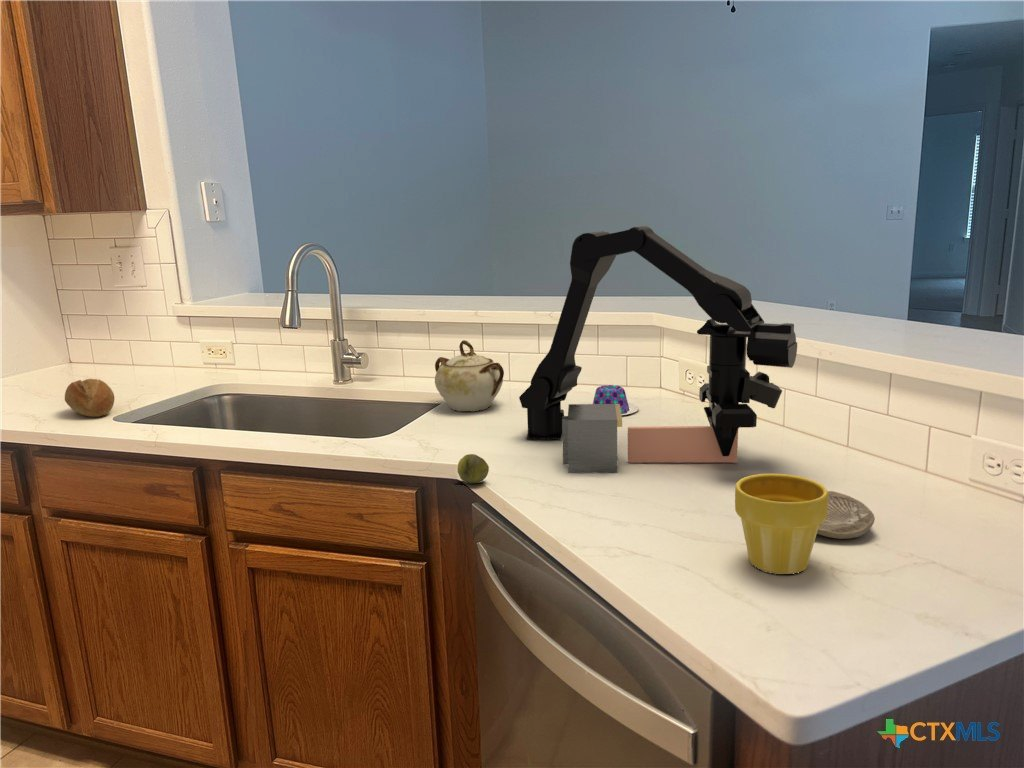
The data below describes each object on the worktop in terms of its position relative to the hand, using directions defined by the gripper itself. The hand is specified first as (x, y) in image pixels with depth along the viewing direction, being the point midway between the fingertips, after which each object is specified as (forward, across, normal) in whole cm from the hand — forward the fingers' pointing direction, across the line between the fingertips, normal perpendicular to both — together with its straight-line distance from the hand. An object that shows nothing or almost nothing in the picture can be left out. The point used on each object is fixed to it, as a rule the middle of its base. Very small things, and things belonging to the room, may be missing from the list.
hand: (724, 453), depth 129 cm
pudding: (+2, +34, +18) cm, 39 cm away
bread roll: (+2, +35, +136) cm, 140 cm away
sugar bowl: (+2, +38, +49) cm, 61 cm away
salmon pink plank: (+1, 0, +7) cm, 7 cm away
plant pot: (+2, -37, 0) cm, 37 cm away
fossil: (+2, -26, -9) cm, 28 cm away
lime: (+2, -10, +41) cm, 42 cm away
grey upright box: (+2, 0, +22) cm, 22 cm away
